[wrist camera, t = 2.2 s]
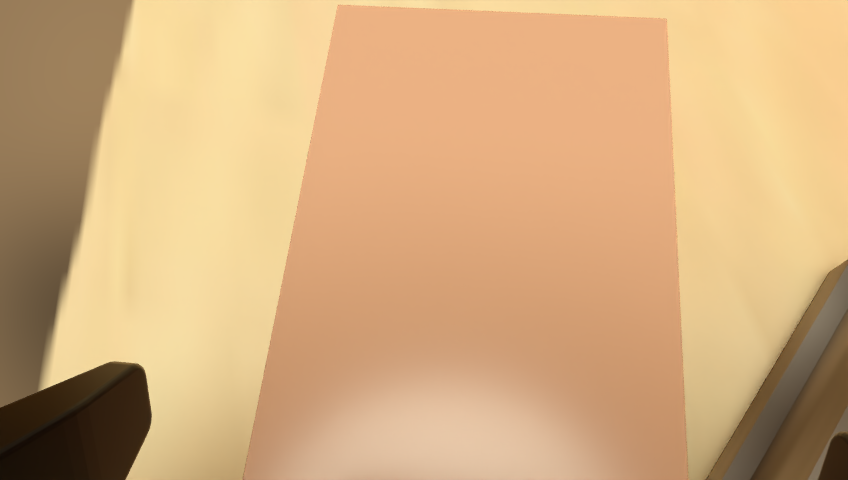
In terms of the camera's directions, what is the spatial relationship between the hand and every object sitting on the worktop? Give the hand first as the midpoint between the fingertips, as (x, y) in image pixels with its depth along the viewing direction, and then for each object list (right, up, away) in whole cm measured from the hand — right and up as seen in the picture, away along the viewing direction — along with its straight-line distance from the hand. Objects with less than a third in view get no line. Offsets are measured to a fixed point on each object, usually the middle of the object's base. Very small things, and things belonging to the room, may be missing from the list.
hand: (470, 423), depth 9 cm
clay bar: (+1, -3, +8) cm, 9 cm away
